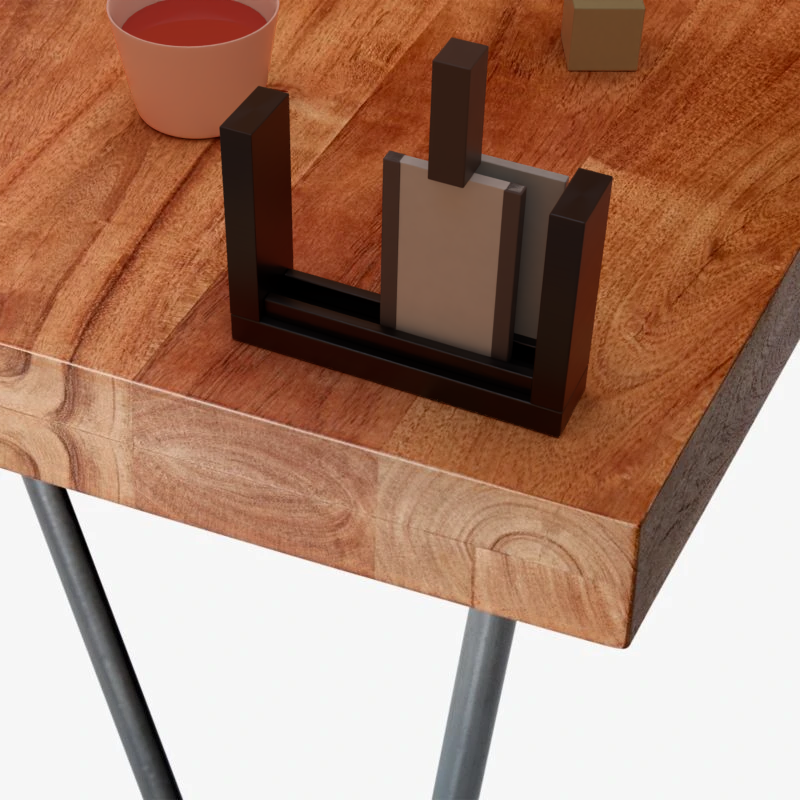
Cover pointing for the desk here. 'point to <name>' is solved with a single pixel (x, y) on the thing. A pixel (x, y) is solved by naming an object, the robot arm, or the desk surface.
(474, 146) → the sash
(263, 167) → the window frame
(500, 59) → the desk surface
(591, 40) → the block
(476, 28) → the desk surface
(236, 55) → the candle
